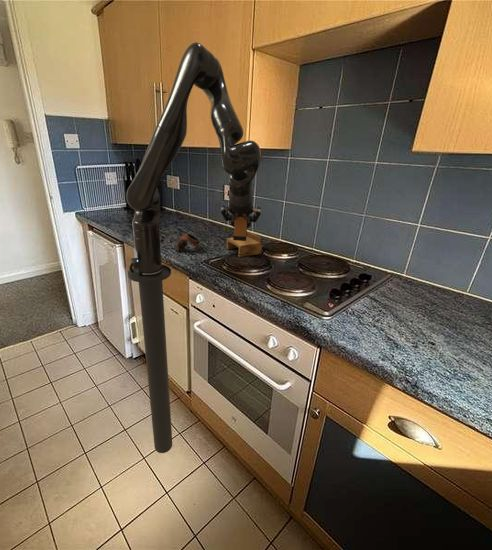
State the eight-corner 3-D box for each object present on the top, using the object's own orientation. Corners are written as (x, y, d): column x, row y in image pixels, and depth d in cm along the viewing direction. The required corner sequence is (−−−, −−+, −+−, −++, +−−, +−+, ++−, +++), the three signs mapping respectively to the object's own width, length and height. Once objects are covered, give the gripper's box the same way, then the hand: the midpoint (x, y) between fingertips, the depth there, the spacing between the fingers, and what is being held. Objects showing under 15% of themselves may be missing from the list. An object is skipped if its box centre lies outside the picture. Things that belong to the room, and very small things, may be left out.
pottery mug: (179, 246, 140) (188, 231, 138) (195, 258, 138) (204, 243, 136) (167, 247, 128) (177, 231, 126) (185, 260, 127) (194, 243, 125)
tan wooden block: (239, 257, 127) (240, 241, 124) (226, 248, 137) (226, 233, 134) (261, 253, 132) (262, 238, 129) (247, 245, 142) (247, 231, 139)
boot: (246, 241, 108) (247, 213, 104) (233, 240, 109) (234, 212, 105) (246, 234, 116) (248, 208, 113) (235, 234, 117) (236, 208, 113)
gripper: (264, 187, 96) (260, 218, 111) (219, 185, 97) (222, 216, 113) (263, 207, 93) (259, 235, 108) (217, 205, 94) (220, 233, 110)
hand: (240, 225), depth 110 cm, fingers closed on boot, 4 cm apart
